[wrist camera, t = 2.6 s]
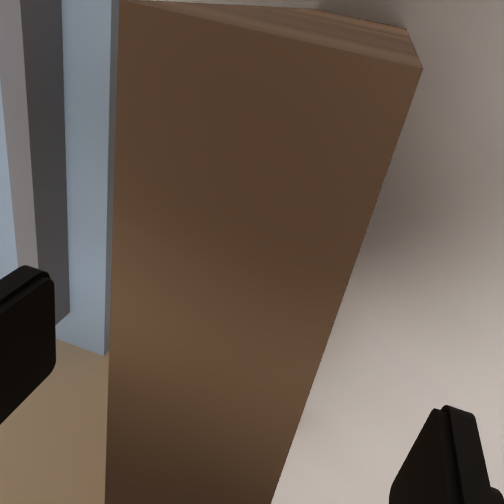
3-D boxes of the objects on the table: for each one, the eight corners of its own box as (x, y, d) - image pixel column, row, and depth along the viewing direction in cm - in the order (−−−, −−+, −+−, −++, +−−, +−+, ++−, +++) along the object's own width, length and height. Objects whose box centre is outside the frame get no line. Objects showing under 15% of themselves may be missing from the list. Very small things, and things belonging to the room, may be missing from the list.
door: (314, 9, 15) (119, -1, 5) (406, 29, 14) (421, 68, 4) (238, 348, 22) (100, 635, 12) (298, 368, 22) (207, 684, 11)
